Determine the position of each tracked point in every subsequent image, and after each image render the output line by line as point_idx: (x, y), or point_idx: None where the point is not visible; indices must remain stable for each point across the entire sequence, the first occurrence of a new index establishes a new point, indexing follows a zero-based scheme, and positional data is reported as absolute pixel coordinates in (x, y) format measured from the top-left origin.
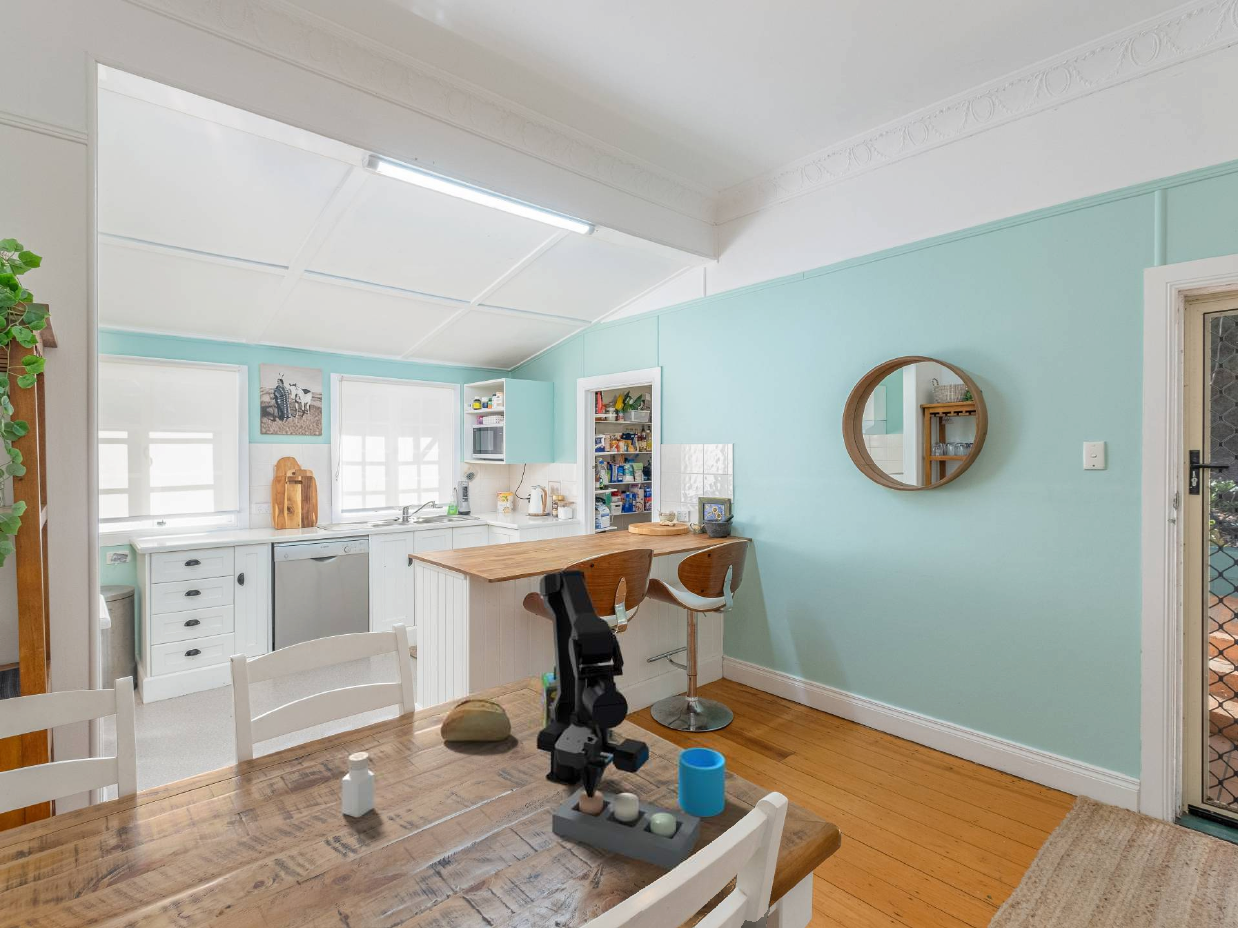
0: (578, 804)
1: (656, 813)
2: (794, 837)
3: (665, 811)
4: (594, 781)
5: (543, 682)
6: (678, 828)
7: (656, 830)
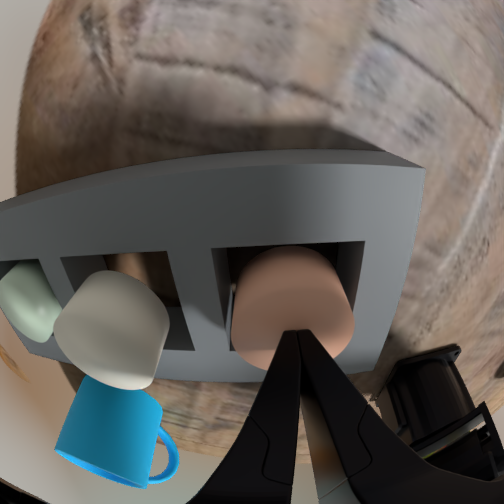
0: (351, 295)
1: None
2: (8, 355)
3: None
4: (254, 416)
5: None
6: None
7: (15, 273)
